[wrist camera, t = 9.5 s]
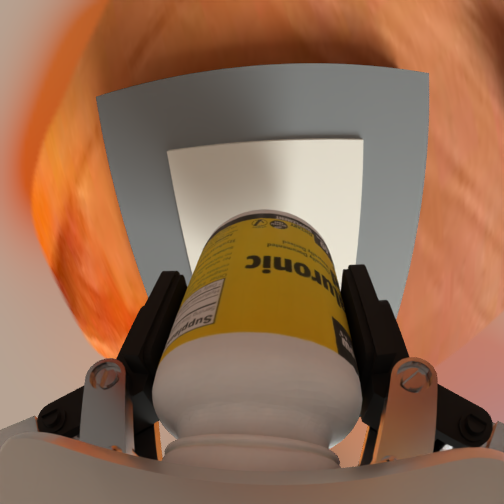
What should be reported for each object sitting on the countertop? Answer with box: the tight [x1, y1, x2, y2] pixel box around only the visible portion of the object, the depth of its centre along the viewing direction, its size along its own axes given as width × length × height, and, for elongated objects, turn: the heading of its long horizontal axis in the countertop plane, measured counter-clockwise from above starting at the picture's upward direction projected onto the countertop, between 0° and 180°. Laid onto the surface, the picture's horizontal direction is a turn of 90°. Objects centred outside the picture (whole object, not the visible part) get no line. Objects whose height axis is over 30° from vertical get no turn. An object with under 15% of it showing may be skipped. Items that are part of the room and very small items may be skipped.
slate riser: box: [96, 63, 429, 319], centre depth 17 cm, size 16×16×4 cm
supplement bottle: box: [152, 209, 362, 471], centre depth 9 cm, size 5×5×10 cm
